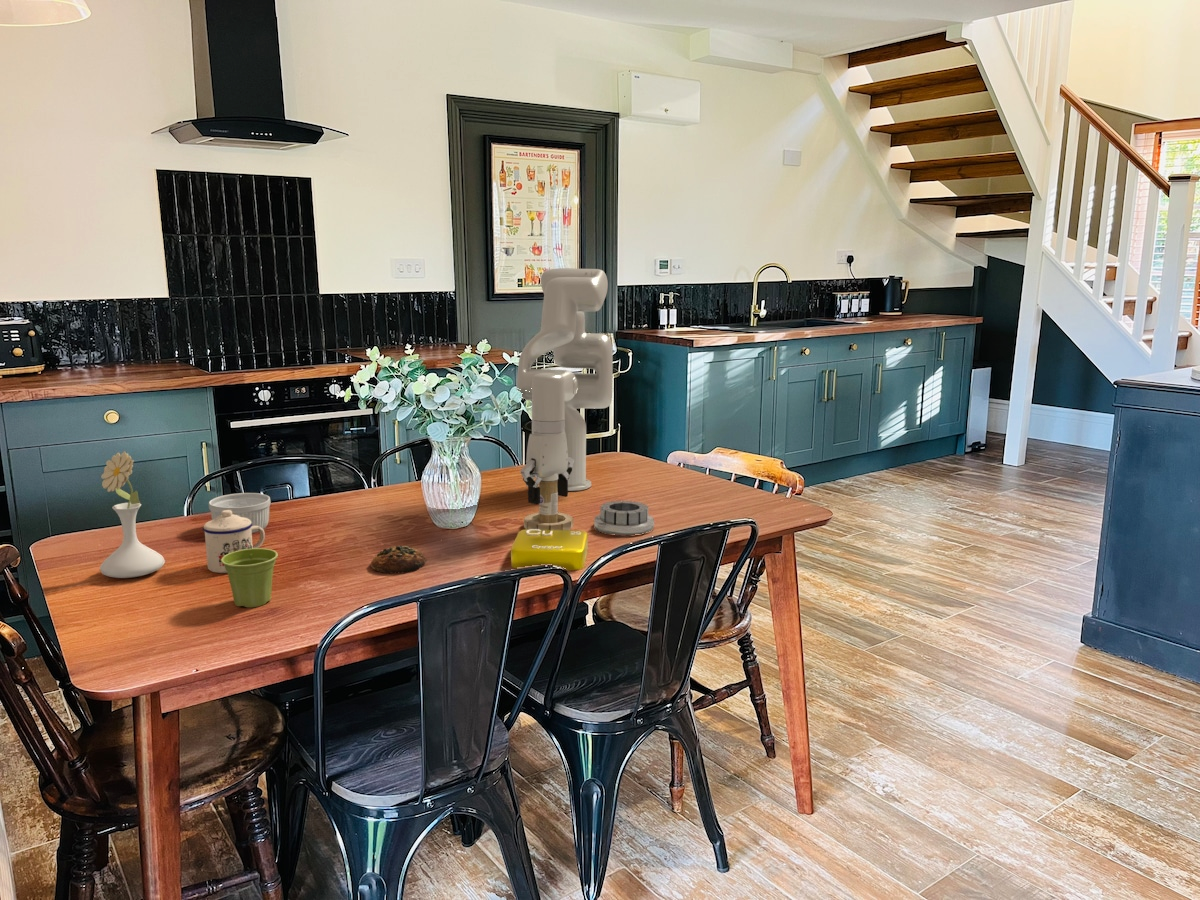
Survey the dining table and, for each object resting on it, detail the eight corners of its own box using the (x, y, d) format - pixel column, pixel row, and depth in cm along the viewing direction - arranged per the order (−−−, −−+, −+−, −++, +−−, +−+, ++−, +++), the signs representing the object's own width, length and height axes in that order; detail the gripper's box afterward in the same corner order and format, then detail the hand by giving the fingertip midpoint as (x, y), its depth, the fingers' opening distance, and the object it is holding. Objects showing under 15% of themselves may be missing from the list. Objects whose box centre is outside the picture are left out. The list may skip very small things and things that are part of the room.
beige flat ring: (514, 527, 207) (514, 519, 207) (546, 517, 216) (546, 509, 215) (550, 536, 200) (550, 528, 200) (582, 525, 209) (582, 517, 208)
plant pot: (287, 604, 159) (284, 558, 157) (232, 616, 153) (228, 568, 152) (272, 589, 166) (269, 545, 164) (219, 599, 161) (215, 554, 159)
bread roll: (401, 577, 173) (398, 552, 172) (359, 575, 178) (356, 551, 178) (438, 564, 182) (435, 540, 182) (397, 562, 188) (395, 539, 187)
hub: (582, 528, 207) (582, 507, 206) (618, 515, 217) (618, 496, 216) (630, 540, 198) (630, 518, 197) (665, 526, 209) (666, 506, 208)
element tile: (509, 570, 179) (509, 548, 178) (519, 547, 194) (519, 526, 193) (583, 572, 178) (583, 549, 177) (588, 549, 193) (588, 528, 192)
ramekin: (282, 528, 204) (280, 499, 203) (226, 541, 195) (224, 510, 194) (255, 517, 213) (253, 489, 212) (201, 528, 204) (198, 499, 202)
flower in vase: (96, 571, 175) (82, 447, 170) (158, 560, 182) (147, 441, 177) (107, 590, 165) (93, 459, 160) (173, 577, 172) (162, 452, 167)
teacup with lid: (219, 577, 172) (214, 519, 170) (198, 566, 178) (193, 511, 176) (276, 562, 181) (273, 507, 179) (255, 553, 187) (251, 499, 184)
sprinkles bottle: (534, 526, 208) (534, 471, 205) (548, 522, 211) (548, 467, 208) (548, 530, 205) (548, 474, 202) (562, 526, 208) (562, 470, 205)
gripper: (560, 421, 212) (560, 490, 215) (510, 429, 199) (510, 503, 202) (584, 424, 207) (584, 495, 210) (534, 433, 194) (534, 509, 197)
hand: (548, 499), depth 206 cm, fingers open, 9 cm apart
